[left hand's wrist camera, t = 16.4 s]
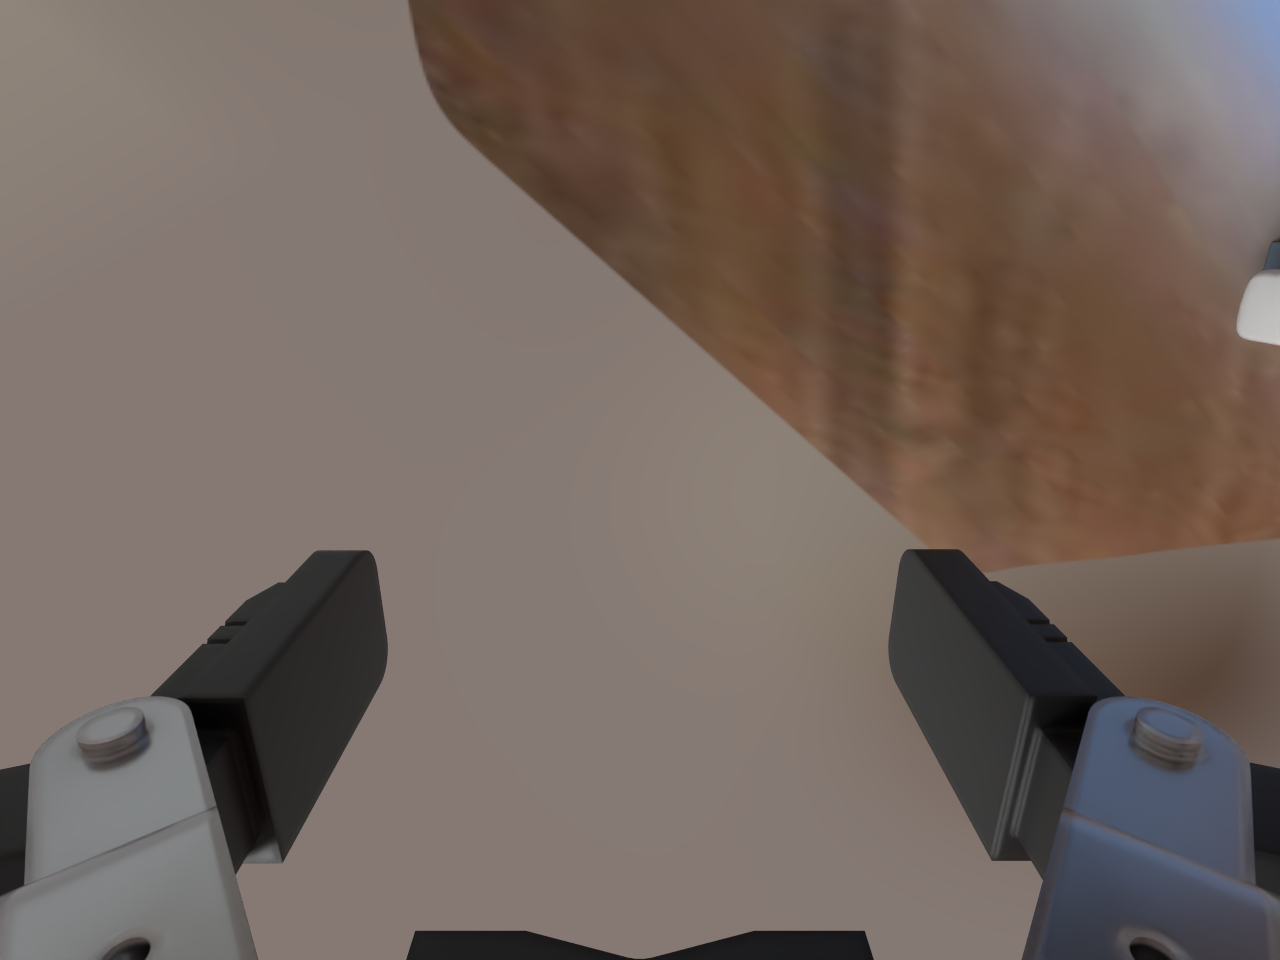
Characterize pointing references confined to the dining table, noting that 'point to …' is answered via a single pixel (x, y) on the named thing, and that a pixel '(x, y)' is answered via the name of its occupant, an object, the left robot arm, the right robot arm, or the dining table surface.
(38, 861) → the left robot arm
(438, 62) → the dining table surface
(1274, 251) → the block
